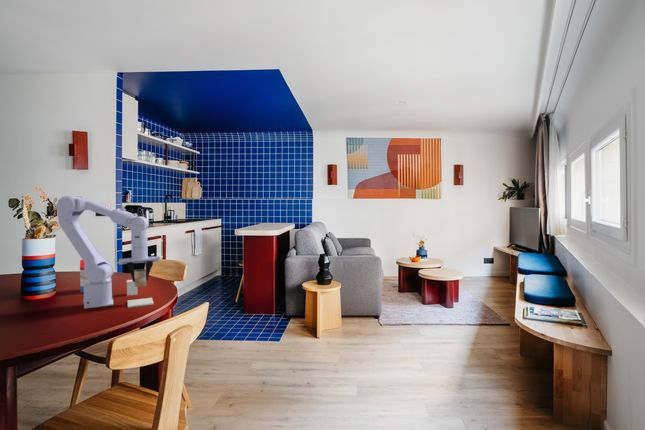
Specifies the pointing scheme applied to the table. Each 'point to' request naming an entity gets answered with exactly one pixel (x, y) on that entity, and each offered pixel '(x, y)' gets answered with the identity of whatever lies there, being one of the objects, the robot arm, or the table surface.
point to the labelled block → (140, 277)
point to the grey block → (131, 288)
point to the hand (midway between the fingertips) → (140, 280)
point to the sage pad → (140, 302)
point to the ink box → (83, 276)
